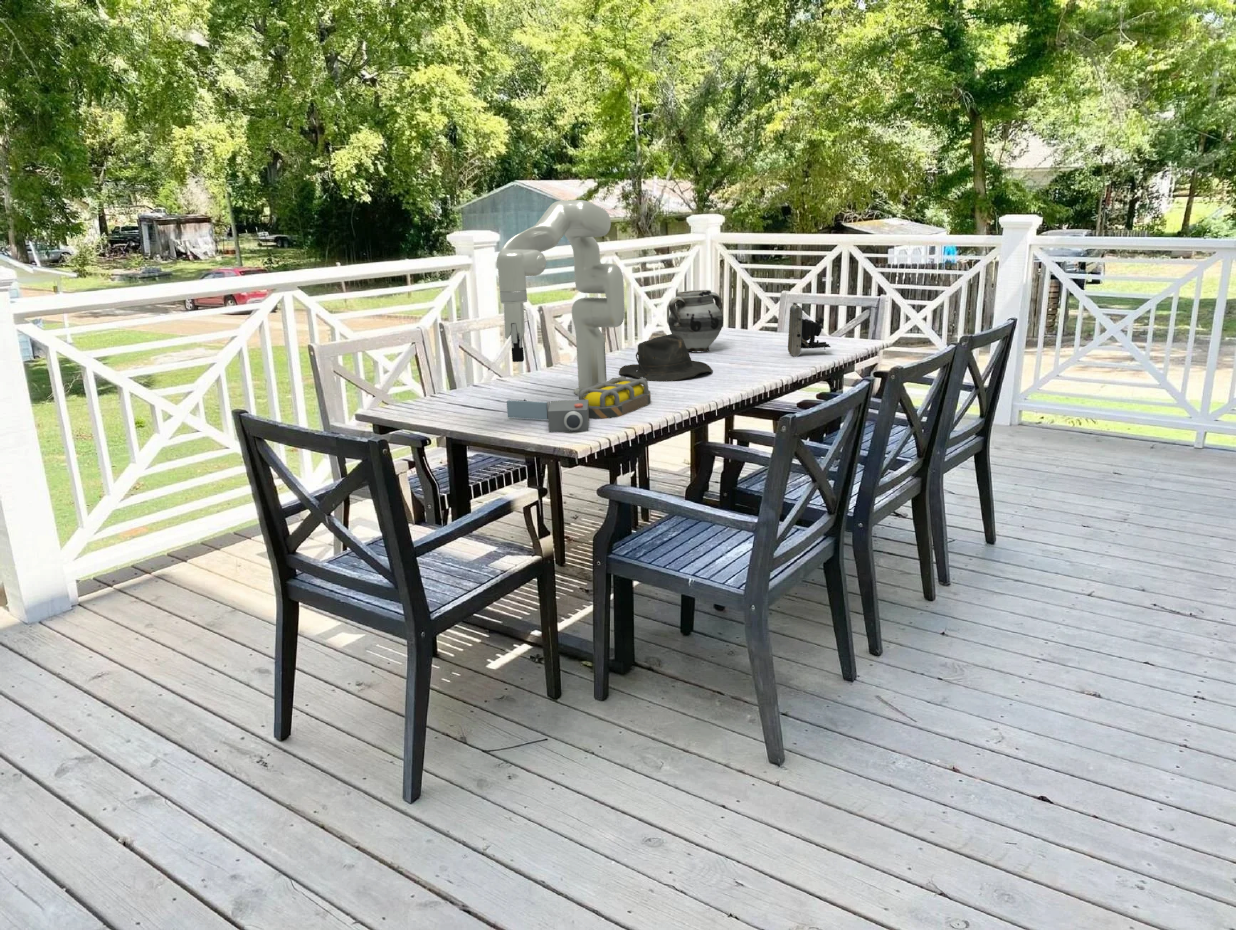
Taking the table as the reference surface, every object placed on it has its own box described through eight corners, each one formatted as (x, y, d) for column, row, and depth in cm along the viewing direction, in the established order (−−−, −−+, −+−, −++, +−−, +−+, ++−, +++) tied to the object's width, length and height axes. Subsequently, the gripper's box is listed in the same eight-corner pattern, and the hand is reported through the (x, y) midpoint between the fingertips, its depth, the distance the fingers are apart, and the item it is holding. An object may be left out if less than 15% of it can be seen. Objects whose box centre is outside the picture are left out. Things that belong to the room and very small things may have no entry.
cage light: (567, 391, 277) (619, 373, 301) (568, 417, 279) (620, 397, 304) (608, 394, 269) (658, 376, 294) (609, 421, 272) (659, 401, 296)
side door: (551, 419, 274) (550, 401, 273) (550, 420, 273) (548, 402, 272) (509, 417, 280) (508, 399, 278) (507, 418, 279) (506, 400, 277)
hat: (668, 386, 320) (667, 344, 316) (602, 374, 346) (601, 336, 342) (731, 372, 339) (730, 333, 335) (664, 362, 365) (663, 326, 361)
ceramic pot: (689, 358, 370) (688, 295, 363) (652, 352, 388) (650, 292, 381) (740, 349, 387) (739, 288, 381) (702, 344, 405) (701, 286, 398)
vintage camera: (830, 357, 363) (833, 305, 358) (791, 357, 364) (793, 305, 358) (825, 353, 373) (828, 303, 368) (787, 353, 373) (789, 303, 368)
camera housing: (552, 420, 274) (550, 398, 272) (589, 419, 274) (588, 396, 272) (548, 433, 259) (547, 409, 257) (588, 432, 259) (587, 408, 257)
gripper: (503, 294, 269) (508, 357, 274) (497, 300, 254) (502, 366, 259) (529, 293, 268) (533, 356, 274) (524, 299, 254) (529, 365, 259)
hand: (518, 361), depth 267 cm, fingers closed
